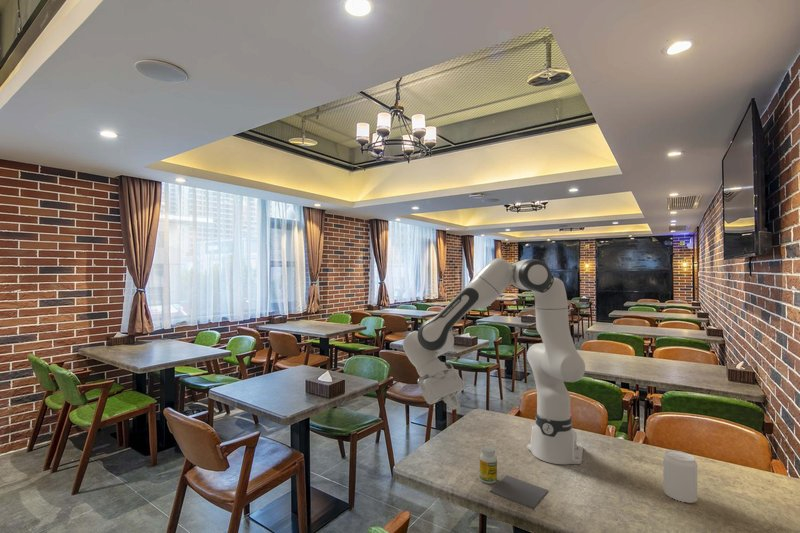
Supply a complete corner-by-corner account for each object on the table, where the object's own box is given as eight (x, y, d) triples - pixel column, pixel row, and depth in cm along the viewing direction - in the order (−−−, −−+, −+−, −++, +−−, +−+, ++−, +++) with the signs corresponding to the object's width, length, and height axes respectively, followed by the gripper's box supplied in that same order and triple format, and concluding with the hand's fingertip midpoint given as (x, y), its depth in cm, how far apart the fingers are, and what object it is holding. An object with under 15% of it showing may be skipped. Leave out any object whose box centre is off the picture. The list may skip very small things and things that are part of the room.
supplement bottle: (487, 473, 124) (488, 443, 125) (500, 481, 120) (501, 449, 120) (475, 478, 121) (476, 447, 122) (488, 486, 117) (488, 453, 117)
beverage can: (698, 508, 108) (698, 464, 108) (663, 498, 112) (663, 457, 113) (695, 494, 115) (695, 453, 115) (662, 486, 119) (662, 447, 119)
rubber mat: (506, 476, 123) (506, 475, 123) (548, 491, 115) (548, 490, 115) (489, 491, 114) (489, 490, 114) (533, 509, 106) (533, 508, 106)
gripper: (421, 373, 126) (445, 410, 119) (453, 363, 141) (477, 396, 135) (409, 384, 128) (433, 421, 122) (443, 373, 144) (465, 405, 138)
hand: (456, 408), depth 129 cm, fingers closed
